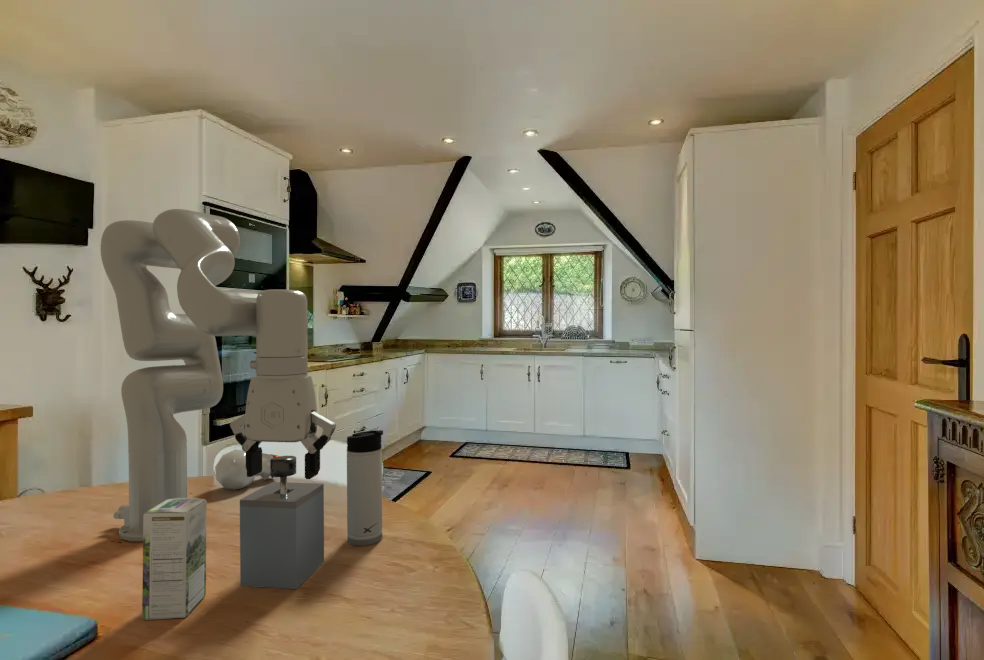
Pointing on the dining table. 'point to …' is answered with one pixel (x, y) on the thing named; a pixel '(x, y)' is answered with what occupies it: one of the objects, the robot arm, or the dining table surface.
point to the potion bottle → (239, 469)
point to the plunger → (283, 470)
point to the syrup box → (174, 558)
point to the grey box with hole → (281, 535)
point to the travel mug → (364, 488)
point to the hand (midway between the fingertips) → (282, 475)
